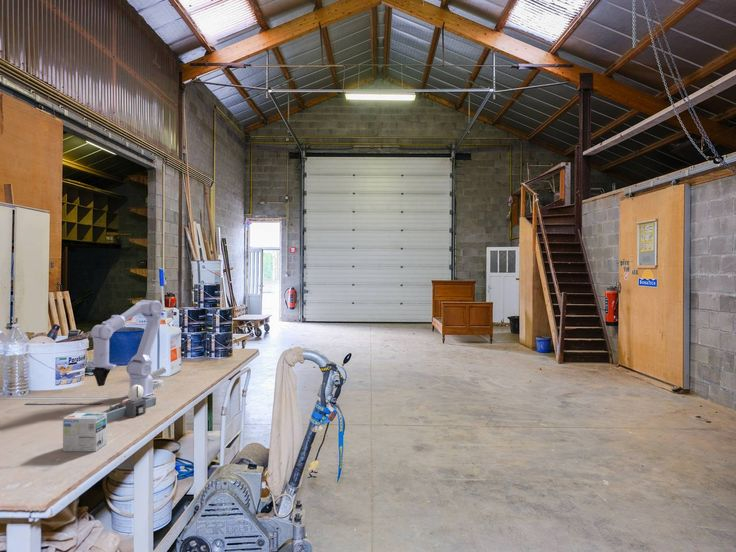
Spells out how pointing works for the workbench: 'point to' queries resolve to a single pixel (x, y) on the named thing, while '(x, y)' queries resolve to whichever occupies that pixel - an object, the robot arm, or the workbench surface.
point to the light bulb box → (84, 431)
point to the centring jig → (131, 404)
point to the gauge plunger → (138, 409)
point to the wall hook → (155, 374)
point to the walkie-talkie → (117, 405)
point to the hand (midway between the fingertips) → (101, 385)
